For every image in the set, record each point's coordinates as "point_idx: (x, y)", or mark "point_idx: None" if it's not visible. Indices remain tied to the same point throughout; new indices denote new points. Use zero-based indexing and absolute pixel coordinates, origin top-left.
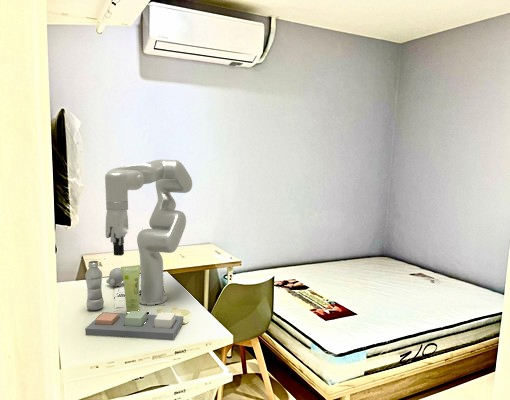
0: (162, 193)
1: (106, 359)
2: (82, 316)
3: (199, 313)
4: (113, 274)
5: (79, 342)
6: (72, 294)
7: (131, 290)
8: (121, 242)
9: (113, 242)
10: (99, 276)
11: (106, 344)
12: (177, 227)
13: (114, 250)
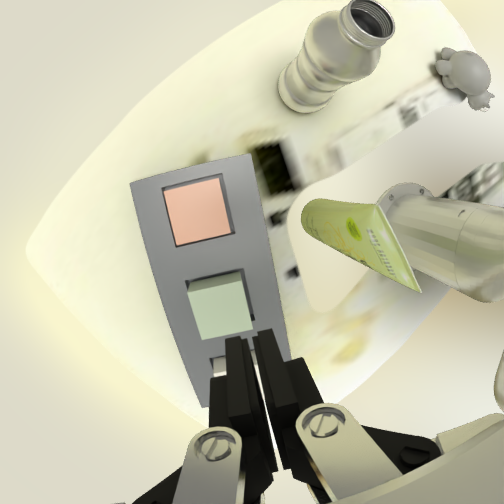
0: None
1: (72, 313)
2: (239, 87)
3: (349, 381)
4: (462, 65)
5: (99, 198)
6: None
7: (332, 240)
8: (305, 479)
9: (151, 495)
10: (339, 77)
11: (117, 272)
12: None
13: (229, 373)
